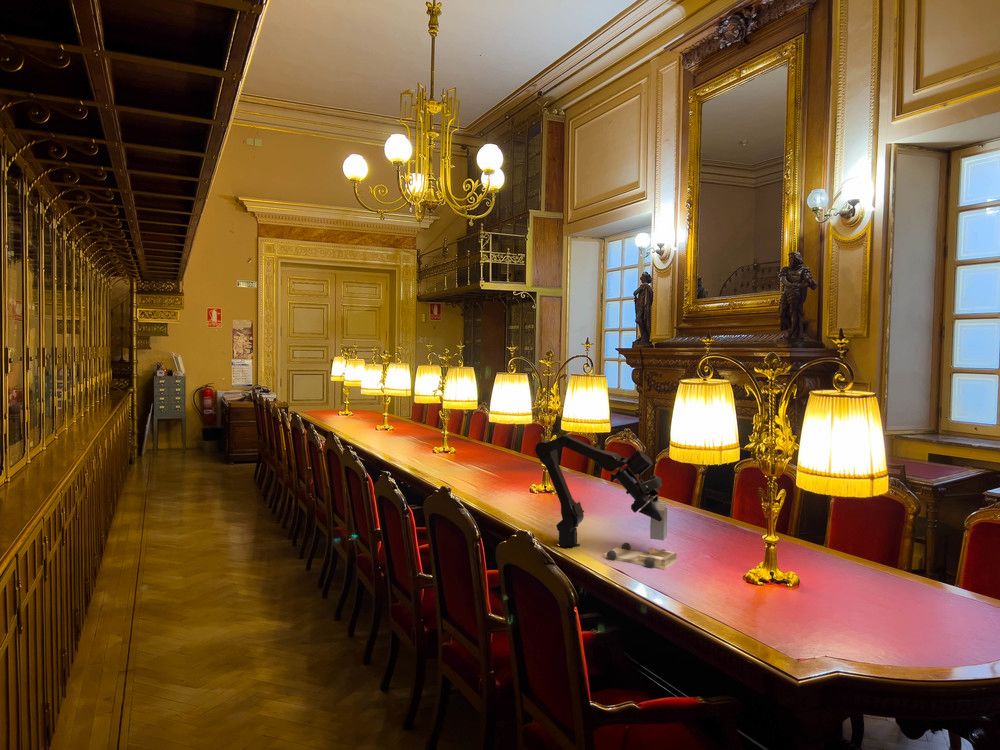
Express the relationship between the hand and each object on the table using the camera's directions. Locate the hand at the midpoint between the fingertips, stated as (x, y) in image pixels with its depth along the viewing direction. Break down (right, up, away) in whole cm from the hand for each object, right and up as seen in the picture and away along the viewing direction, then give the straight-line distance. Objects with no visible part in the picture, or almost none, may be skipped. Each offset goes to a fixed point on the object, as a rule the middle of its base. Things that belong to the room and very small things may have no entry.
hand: (662, 518), depth 230 cm
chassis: (-8, -13, -1) cm, 16 cm away
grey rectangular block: (-1, -7, +1) cm, 7 cm away
